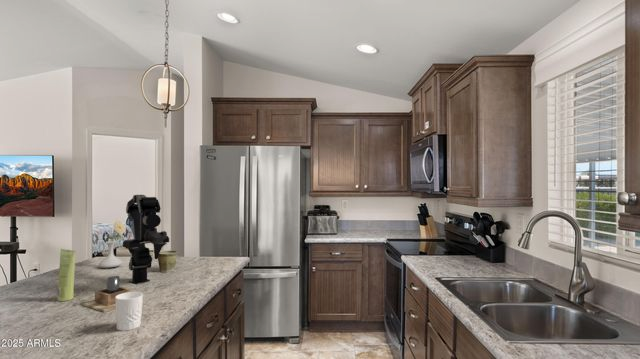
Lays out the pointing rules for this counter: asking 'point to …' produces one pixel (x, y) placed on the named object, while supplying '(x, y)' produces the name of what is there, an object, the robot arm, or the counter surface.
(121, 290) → the well
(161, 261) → the ceramic cup
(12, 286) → the counter surface
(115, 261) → the flower in vase
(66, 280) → the tube
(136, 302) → the white cup
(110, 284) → the peg
